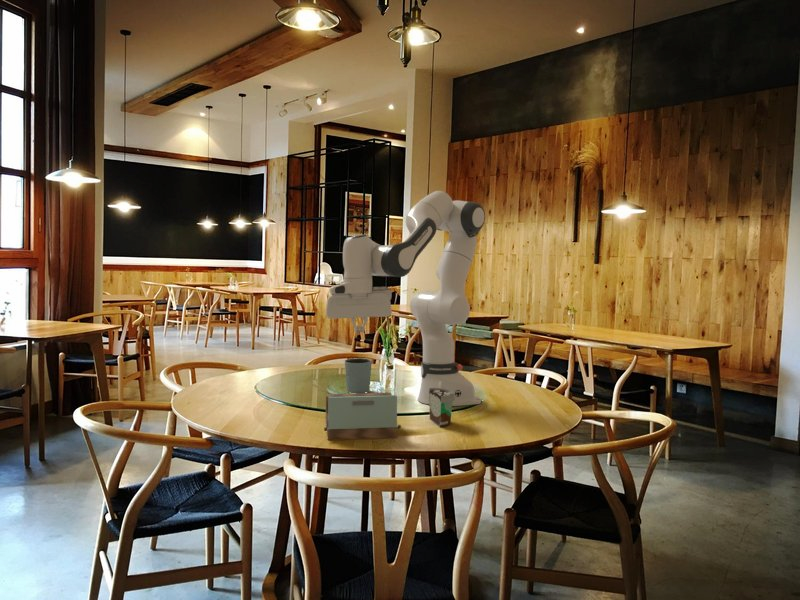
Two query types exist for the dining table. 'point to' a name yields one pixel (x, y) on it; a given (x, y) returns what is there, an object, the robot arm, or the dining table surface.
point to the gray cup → (358, 375)
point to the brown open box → (359, 432)
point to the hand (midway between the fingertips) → (359, 332)
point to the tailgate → (362, 412)
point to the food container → (441, 406)
